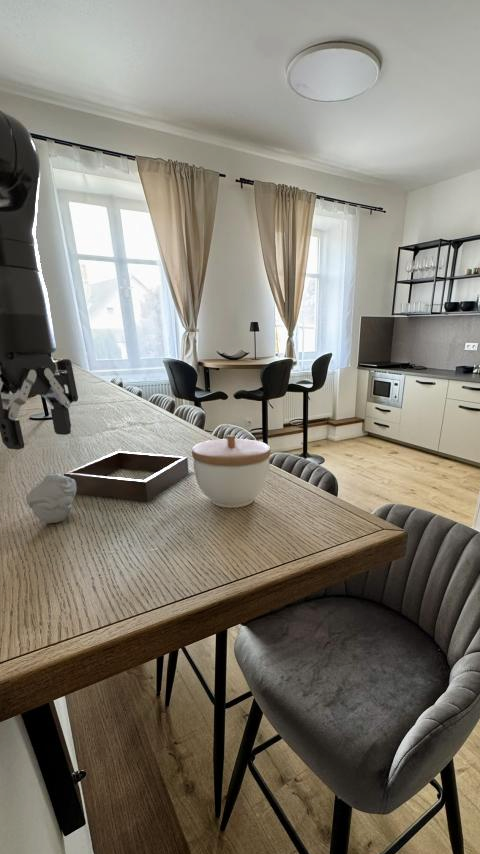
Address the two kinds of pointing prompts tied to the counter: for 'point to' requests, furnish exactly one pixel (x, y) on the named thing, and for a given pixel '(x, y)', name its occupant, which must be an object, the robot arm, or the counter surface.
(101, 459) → the square wooden tray
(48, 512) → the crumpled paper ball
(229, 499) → the lidded bowl
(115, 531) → the counter surface
